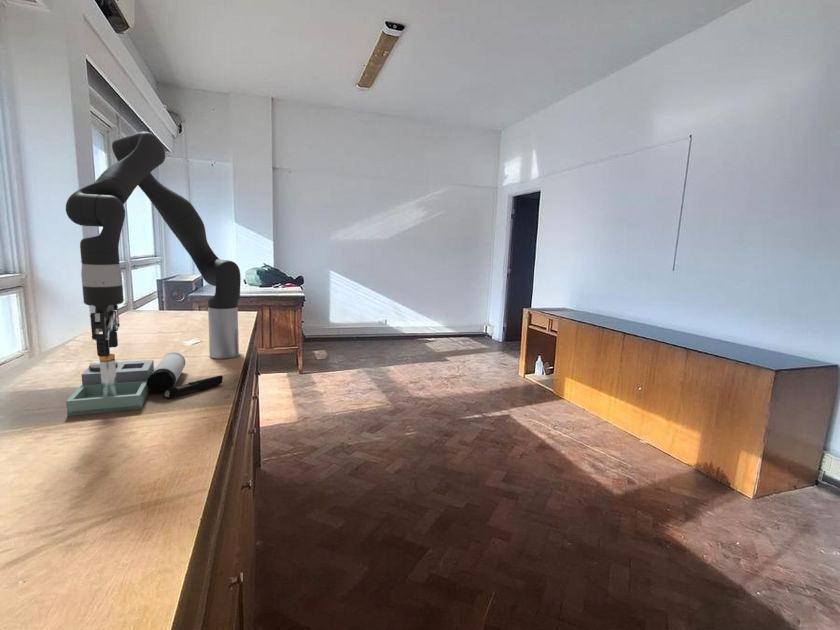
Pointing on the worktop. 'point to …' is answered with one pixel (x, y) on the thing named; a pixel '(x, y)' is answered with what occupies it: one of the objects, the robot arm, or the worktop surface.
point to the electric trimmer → (192, 387)
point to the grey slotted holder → (120, 372)
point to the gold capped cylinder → (108, 375)
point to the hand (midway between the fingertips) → (108, 351)
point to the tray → (107, 399)
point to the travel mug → (166, 373)
